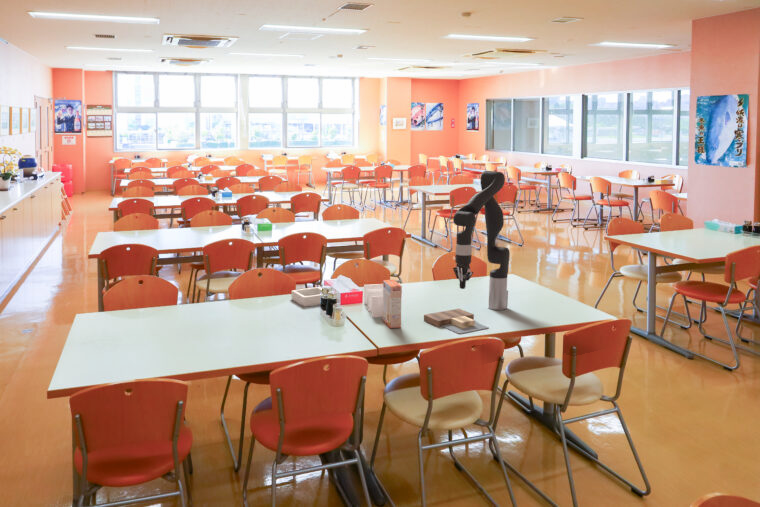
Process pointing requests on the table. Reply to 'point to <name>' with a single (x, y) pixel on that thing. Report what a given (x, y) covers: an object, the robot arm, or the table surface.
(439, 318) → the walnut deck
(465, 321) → the maple tile
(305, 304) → the holder corral
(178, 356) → the table surface
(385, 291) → the cracker box
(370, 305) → the storage container
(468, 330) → the rubber mat
